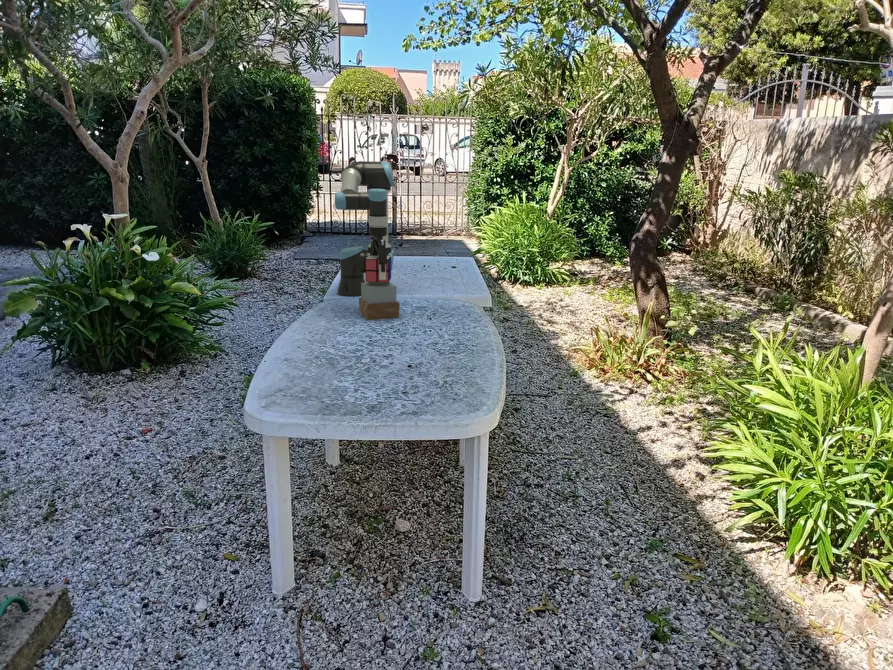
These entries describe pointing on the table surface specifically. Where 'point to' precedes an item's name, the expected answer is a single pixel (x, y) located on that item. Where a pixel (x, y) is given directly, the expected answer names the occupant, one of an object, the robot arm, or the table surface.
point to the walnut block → (379, 310)
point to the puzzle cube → (376, 269)
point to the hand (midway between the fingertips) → (378, 277)
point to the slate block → (378, 292)
